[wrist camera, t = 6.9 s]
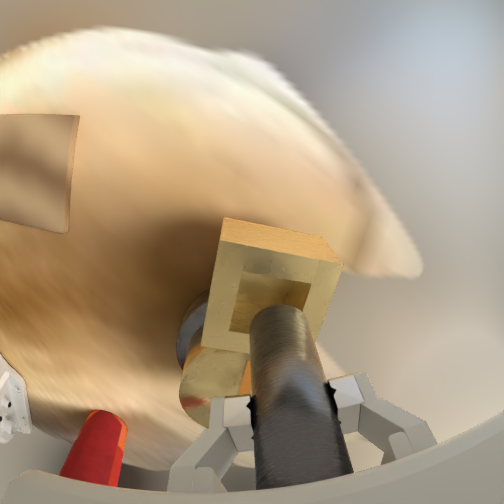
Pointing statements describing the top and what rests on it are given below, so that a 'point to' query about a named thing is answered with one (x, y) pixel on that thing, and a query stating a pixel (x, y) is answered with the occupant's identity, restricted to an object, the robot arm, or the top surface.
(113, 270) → the top surface
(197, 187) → the top surface
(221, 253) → the chuck collar
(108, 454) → the paper cup
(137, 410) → the top surface
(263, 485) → the steel cylinder
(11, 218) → the wooden mat
